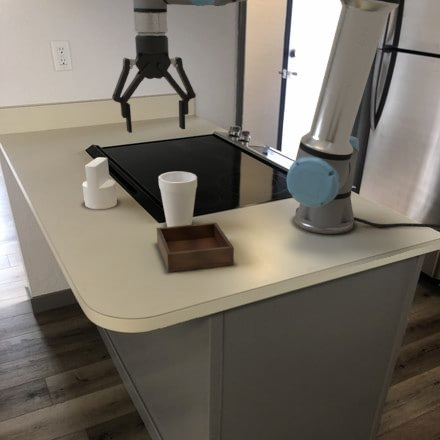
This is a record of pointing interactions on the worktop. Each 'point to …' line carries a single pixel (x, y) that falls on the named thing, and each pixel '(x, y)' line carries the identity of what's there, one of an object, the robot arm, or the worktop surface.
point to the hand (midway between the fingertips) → (156, 130)
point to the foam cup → (178, 197)
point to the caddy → (194, 247)
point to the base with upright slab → (99, 185)
